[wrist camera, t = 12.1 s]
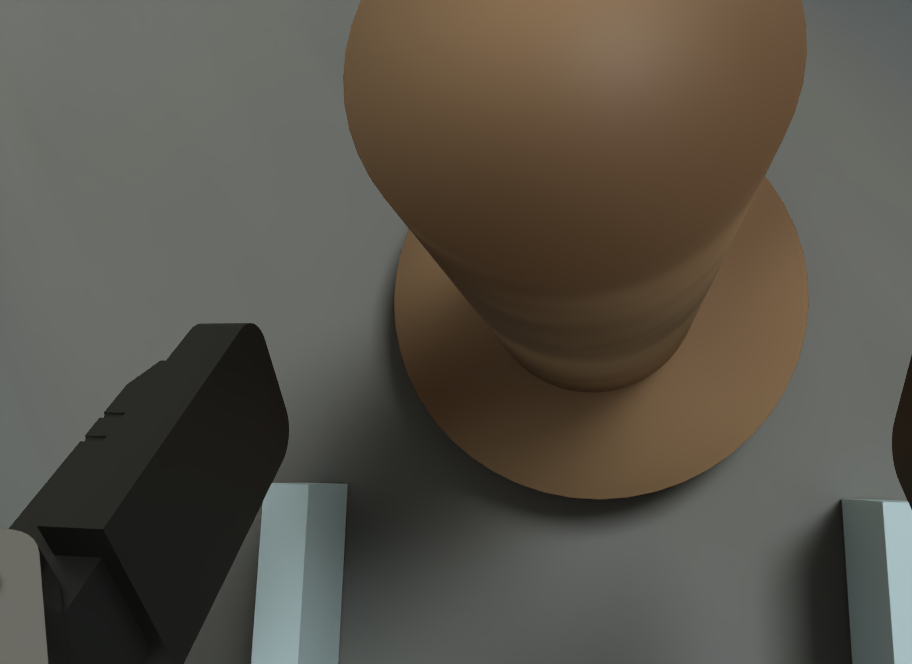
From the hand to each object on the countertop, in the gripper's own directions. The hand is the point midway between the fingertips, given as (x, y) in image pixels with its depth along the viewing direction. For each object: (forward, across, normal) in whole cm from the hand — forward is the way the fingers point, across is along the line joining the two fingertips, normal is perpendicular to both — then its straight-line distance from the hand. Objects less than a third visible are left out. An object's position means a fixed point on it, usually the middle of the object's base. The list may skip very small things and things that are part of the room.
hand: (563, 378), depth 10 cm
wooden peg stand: (+8, 0, +4) cm, 9 cm away
